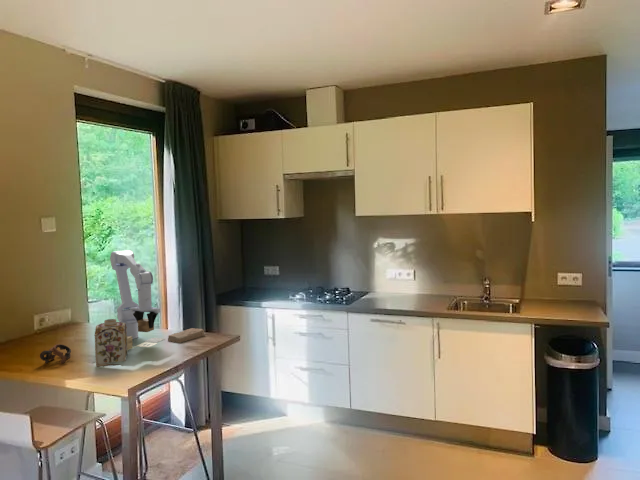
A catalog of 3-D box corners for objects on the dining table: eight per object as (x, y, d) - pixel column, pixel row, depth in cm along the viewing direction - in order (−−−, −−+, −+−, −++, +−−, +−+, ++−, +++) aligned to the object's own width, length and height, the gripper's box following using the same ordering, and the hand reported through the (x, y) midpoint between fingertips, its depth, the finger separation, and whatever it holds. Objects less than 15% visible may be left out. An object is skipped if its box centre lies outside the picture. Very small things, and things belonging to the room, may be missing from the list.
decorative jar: (95, 367, 210) (93, 324, 209) (99, 359, 221) (97, 317, 220) (126, 364, 213) (124, 321, 212) (128, 356, 225) (126, 315, 223)
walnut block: (138, 331, 236) (137, 320, 235) (144, 328, 240) (144, 318, 240) (147, 332, 234) (146, 321, 234) (154, 329, 239) (153, 318, 239)
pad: (143, 342, 243) (143, 341, 243) (153, 338, 250) (153, 337, 250) (156, 343, 241) (156, 342, 241) (165, 339, 248) (165, 338, 248)
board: (111, 353, 229) (111, 350, 229) (145, 339, 252) (144, 337, 252) (138, 356, 225) (138, 353, 224) (170, 341, 247) (170, 338, 247)
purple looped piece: (58, 358, 225) (67, 342, 225) (68, 371, 221) (77, 355, 220) (32, 358, 215) (40, 341, 214) (41, 372, 210) (50, 355, 209)
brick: (179, 346, 240) (179, 336, 239) (166, 344, 244) (166, 334, 244) (205, 338, 254) (204, 329, 253) (192, 336, 258) (192, 327, 258)
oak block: (116, 349, 230) (115, 338, 230) (123, 346, 235) (123, 335, 235) (125, 350, 229) (124, 339, 229) (132, 347, 234) (132, 336, 233)
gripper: (125, 299, 235) (127, 328, 236) (153, 300, 230) (154, 330, 231) (135, 296, 241) (137, 325, 242) (162, 297, 237) (163, 326, 238)
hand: (146, 327), depth 237 cm, fingers closed on walnut block, 5 cm apart
